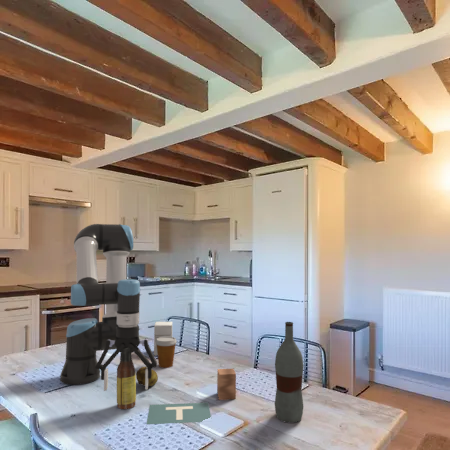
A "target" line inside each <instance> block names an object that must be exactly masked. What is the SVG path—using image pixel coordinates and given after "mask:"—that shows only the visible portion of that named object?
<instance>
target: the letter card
mask: <svg viewBox="0 0 450 450" xmlns="http://www.w3.org/2000/svg"><path fill="white" fill-rule="evenodd" d="M210 417H211V418H212V415H211V409H210V404H209V402H192V403H191V402H190V403H189V402H187V403H186V402H185V403H164V404H163V403H159V404H149V408H148V413H147V419H146V425H163V424H164V425H165V424H166V425H167V424H183V423H184V424H185V423H187V424H189V423H203V422H202V421H203V420H205V419H208V418H210Z"/></svg>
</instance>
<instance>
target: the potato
mask: <svg viewBox="0 0 450 450" xmlns="http://www.w3.org/2000/svg"><path fill="white" fill-rule="evenodd" d="M145 374H146V366H141V367H140V368H139V369H137V370H136V381H137V383H138V385H142V386H145ZM158 377H159V376H158V373H157V371H156V370H154V369H152V376H151V378H148V387H152V386H155V384H156V383H157V381H158V380H159V378H158Z"/></svg>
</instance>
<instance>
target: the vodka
mask: <svg viewBox="0 0 450 450" xmlns="http://www.w3.org/2000/svg"><path fill="white" fill-rule="evenodd" d="M284 324H285V328H284V329H285V330H284V331H285V332H284V333H285V334H284V336H285V337H284V340H283V342H282V343H281V345H280V346H279V348H278V349H277V351H276V354H275V360H274V361H275V362H274V368H275V382H276V388H275V389H276V390H275V398H274V409H275V410H274V411H275V415H276V418H277V419H278V420H279V419H280V420H279V421H281V420H282V421H281V422H283V421H285V423H288V422H295V423H298V422H297V421H299V422H300V421H301V420H302V419H303V413H304V399H303V391H302V389H303V388H302V386H303V375H304V374H303V372H304V360H303V354H302V351H301V350H300V349H299V347H298V345H297V344H296V341H295V340H294V323H293V321H285V323H284Z"/></svg>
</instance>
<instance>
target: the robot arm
mask: <svg viewBox="0 0 450 450" xmlns="http://www.w3.org/2000/svg"><path fill="white" fill-rule="evenodd" d="M73 249H74V251H75V253H76V284H71V286H70V287H71V288H70V304H71V306H78V307H79V306H82V307H84V306H100V305H101V306H102V305H105V314H104V315H102V319H101V320H102V321H99V320H98V319H97V318H95V317H92V318H90V317H89V318H82V319H77V320H74V321H72V322H70V323H69V324H68V325H67V328H66V334H65V337H66V344H65V345H66V347H65V361H64V364H63V367H62V369H61V372H60V378H59V379H60V380H59V381H60V383H61V384H64V385H72V386H73V385H75V386H76V385H86V384H90V383H92V382H95V381H97V380H99V379H101V381H103V392H106V391H107V390H108V386H109V368H108V366H109V365H110V364H111V363H112V362H113V360H114V359H115V358H117V356H118V355H119V353H120V352H121V350H122V349H123V348H130V353H132V354H133V353H134V354H135V355H136V356H137V358H139V360H140V361H141V362H142V363H143V364H144V366H145V367H146V374H145V387H144V390H148V388H149V386H148V378H151V376H152V370H153V369H154V368H156V367H157V366H158V360H157V359H156V358H155V357H156V356H154V352H153V351H152V349H151V347H150V345H149V339H148V338H147V337H146V338H144V339H140V325H139V324H140V299H141V298H140V296H141V283H140V281H139V280H138V279H133V278H132V279H127V258H128V256H129V255H130V253H131V251H133V249H134V235H133V231H132V228H131V227H130V225H127V224H126V225H125V224H121V223H118V224H115V223H114V224H109V223H107V224H104V223H94V224H89V225H87V226H85V227H84V228H82V229H81V230H80V231H79V232H78V233H77V234H76V236H75V238H74V241H73ZM97 251H102V255H103V256H104V257H105V258H106V262H105V263H106V264H105V265H106V269H105V270H106V273H105V274H106V276H105V277H106V278H105V279H106V280H105V281H106V282H105V283H99V275H98V263H97V262H98V261H97V260H98V259H97ZM140 344H141V345H142V347H144V349H145V352H146V354H147V356H148V358H149V359H148V358H147V357H146V355H144V353H143V352H142V351H141V349H140V347H139V346H140ZM112 350H115V351H114V352H113V353H112V354H110V356H109V357H108V359H106V361H105V362H104V359H105V357H106V355H107V353H108V352H109V351H112ZM100 351H103V352H102V353H101V355H100V357H99V359H98V360H97V352H100ZM103 362H104V364H102V363H103Z"/></svg>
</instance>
